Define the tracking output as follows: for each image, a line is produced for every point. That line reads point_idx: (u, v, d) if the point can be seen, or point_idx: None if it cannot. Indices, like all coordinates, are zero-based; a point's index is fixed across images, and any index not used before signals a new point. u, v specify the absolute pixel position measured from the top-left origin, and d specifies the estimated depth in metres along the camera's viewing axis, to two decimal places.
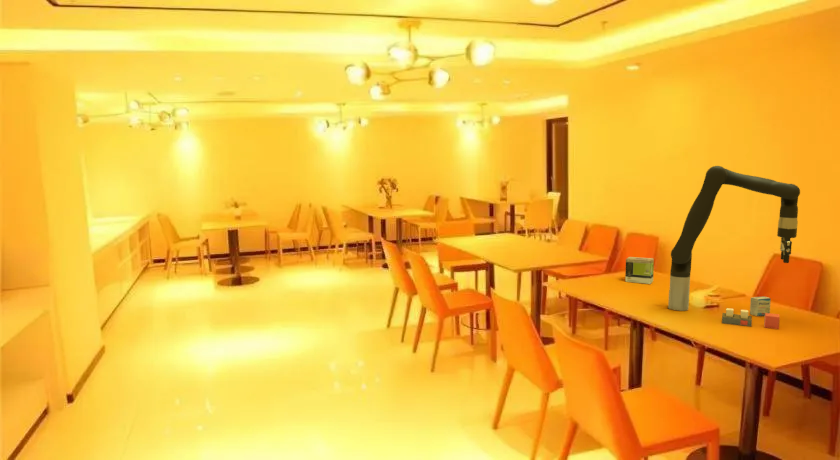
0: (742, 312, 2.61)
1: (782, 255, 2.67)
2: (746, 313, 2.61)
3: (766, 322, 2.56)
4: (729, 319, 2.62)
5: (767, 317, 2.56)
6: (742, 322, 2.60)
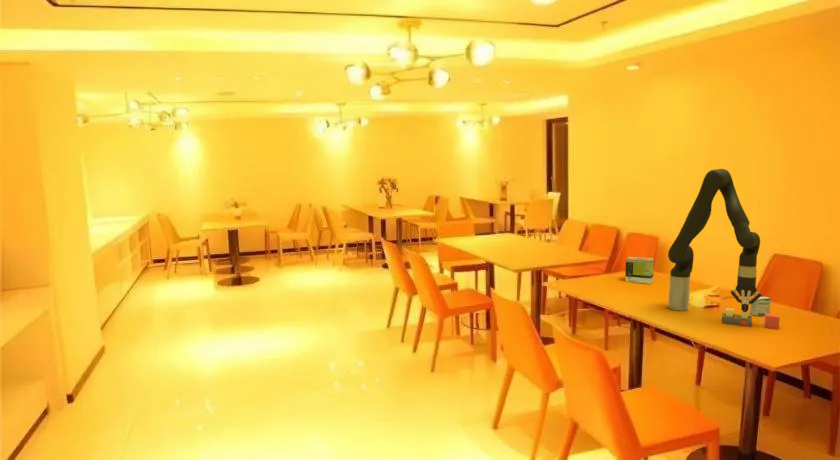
0: (742, 313, 2.62)
1: None
2: (746, 314, 2.61)
3: (766, 322, 2.56)
4: (729, 319, 2.62)
5: (767, 317, 2.56)
6: (742, 322, 2.60)
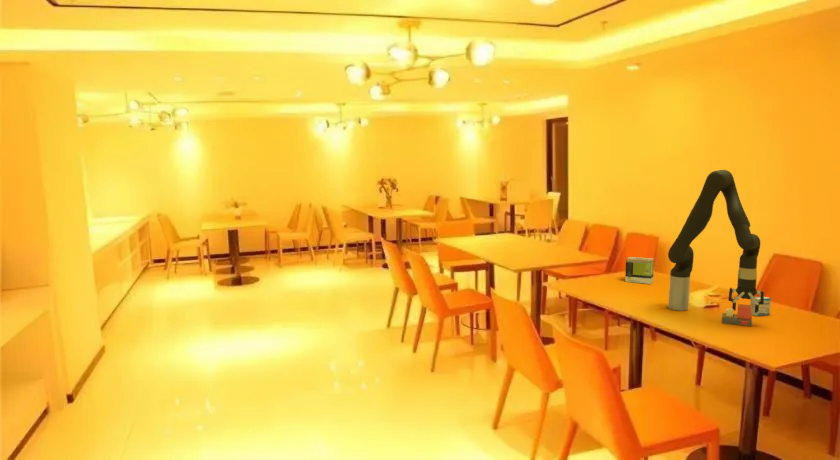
0: None
1: (735, 306, 2.63)
2: None
3: (738, 313, 2.61)
4: (729, 319, 2.62)
5: (739, 308, 2.61)
6: (742, 322, 2.60)
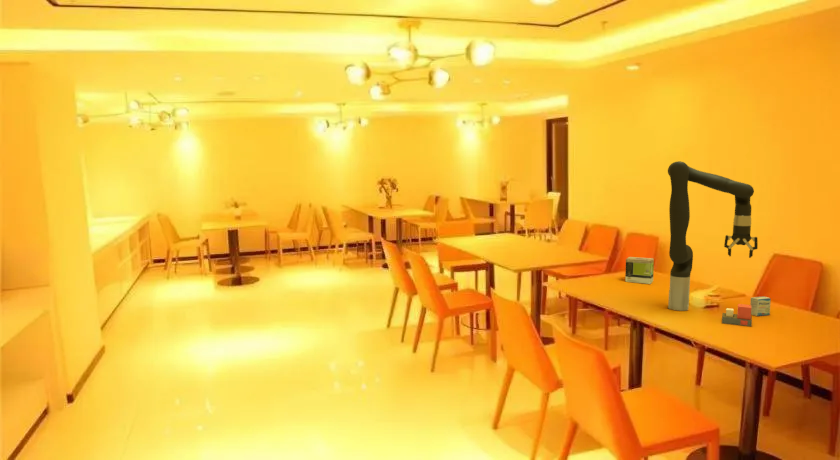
0: None
1: None
2: None
3: (738, 313, 2.61)
4: (729, 319, 2.62)
5: (739, 308, 2.61)
6: (742, 322, 2.60)
